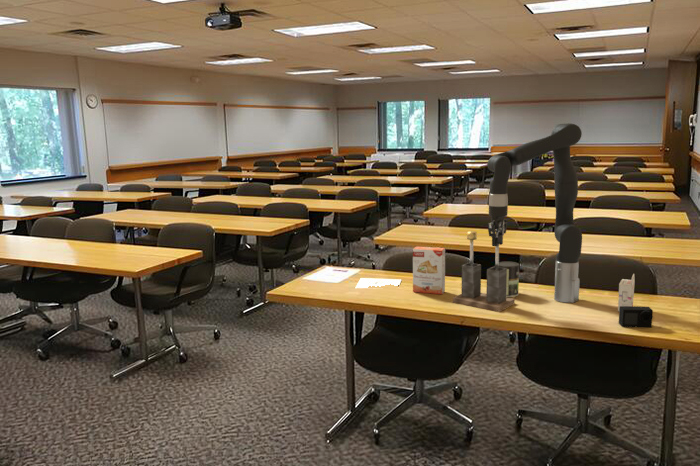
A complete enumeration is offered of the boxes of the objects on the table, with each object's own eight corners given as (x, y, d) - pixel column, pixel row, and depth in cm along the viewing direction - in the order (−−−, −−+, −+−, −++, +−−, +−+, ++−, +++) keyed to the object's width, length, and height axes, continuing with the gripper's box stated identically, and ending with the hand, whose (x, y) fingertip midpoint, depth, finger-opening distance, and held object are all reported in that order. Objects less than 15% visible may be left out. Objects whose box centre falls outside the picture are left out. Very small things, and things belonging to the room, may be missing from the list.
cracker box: (412, 292, 262) (412, 248, 258) (416, 289, 268) (415, 245, 264) (442, 295, 257) (442, 250, 253) (445, 291, 262) (445, 247, 258)
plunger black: (503, 277, 238) (504, 234, 235) (498, 280, 235) (499, 236, 231) (494, 276, 241) (495, 233, 237) (489, 278, 238) (490, 235, 234)
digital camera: (623, 328, 210) (624, 310, 208) (618, 323, 215) (619, 305, 214) (652, 329, 208) (654, 310, 207) (647, 324, 213) (648, 306, 212)
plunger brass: (478, 273, 246) (478, 231, 242) (473, 275, 243) (473, 233, 239) (469, 272, 248) (469, 230, 245) (464, 274, 245) (465, 232, 242)
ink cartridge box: (619, 305, 235) (622, 271, 232) (633, 307, 232) (635, 272, 230) (617, 311, 228) (619, 276, 225) (630, 313, 225) (633, 277, 223)
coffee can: (517, 291, 260) (518, 261, 257) (519, 297, 250) (520, 266, 247) (494, 290, 262) (495, 260, 259) (495, 297, 252) (496, 266, 249)
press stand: (514, 303, 242) (515, 267, 239) (499, 311, 231) (500, 274, 229) (468, 294, 256) (469, 260, 253) (452, 302, 246) (452, 266, 243)
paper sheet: (406, 281, 283) (406, 279, 282) (392, 300, 256) (392, 297, 256) (361, 278, 290) (361, 276, 290) (343, 296, 263) (343, 294, 263)
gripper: (498, 207, 224) (497, 249, 227) (514, 203, 235) (513, 243, 238) (481, 205, 229) (480, 247, 232) (497, 201, 240) (497, 241, 243)
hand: (497, 245), depth 235 cm, fingers closed on plunger black, 4 cm apart
